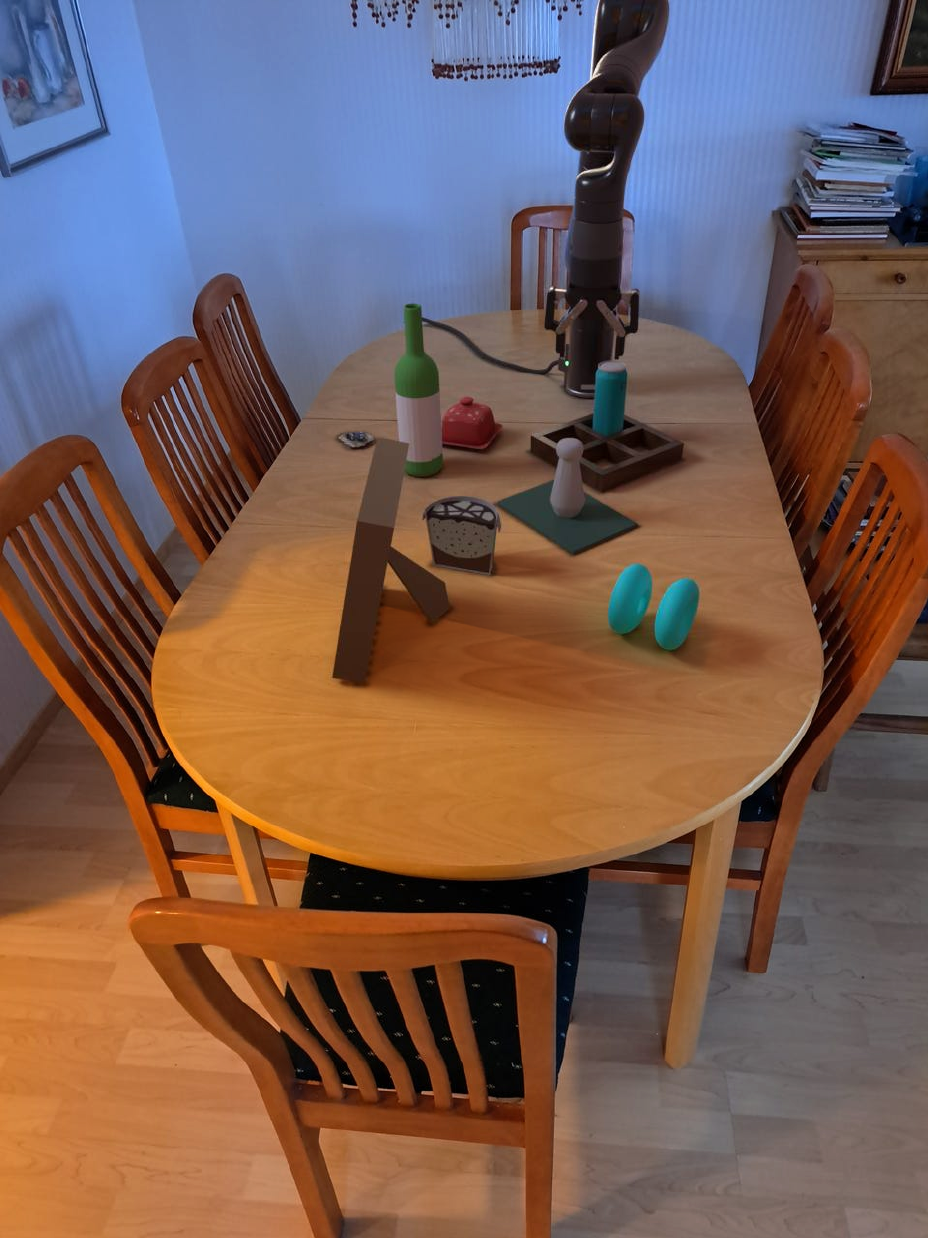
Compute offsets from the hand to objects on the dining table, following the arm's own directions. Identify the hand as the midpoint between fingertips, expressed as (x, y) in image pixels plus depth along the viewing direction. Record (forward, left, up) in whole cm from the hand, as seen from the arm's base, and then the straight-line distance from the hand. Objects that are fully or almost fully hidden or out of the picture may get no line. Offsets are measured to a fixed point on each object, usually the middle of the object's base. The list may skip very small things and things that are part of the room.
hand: (589, 356), depth 141 cm
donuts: (+35, -18, -25) cm, 47 cm away
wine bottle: (-26, -16, -25) cm, 40 cm away
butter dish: (-31, -2, -25) cm, 40 cm away
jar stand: (-9, +14, -25) cm, 30 cm away
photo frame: (+13, -46, -25) cm, 54 cm away
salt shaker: (+3, -6, -25) cm, 26 cm away
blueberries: (-44, -20, -25) cm, 55 cm away
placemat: (+3, -6, -25) cm, 26 cm away
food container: (+4, -27, -25) cm, 37 cm away
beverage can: (-13, +18, -25) cm, 34 cm away
